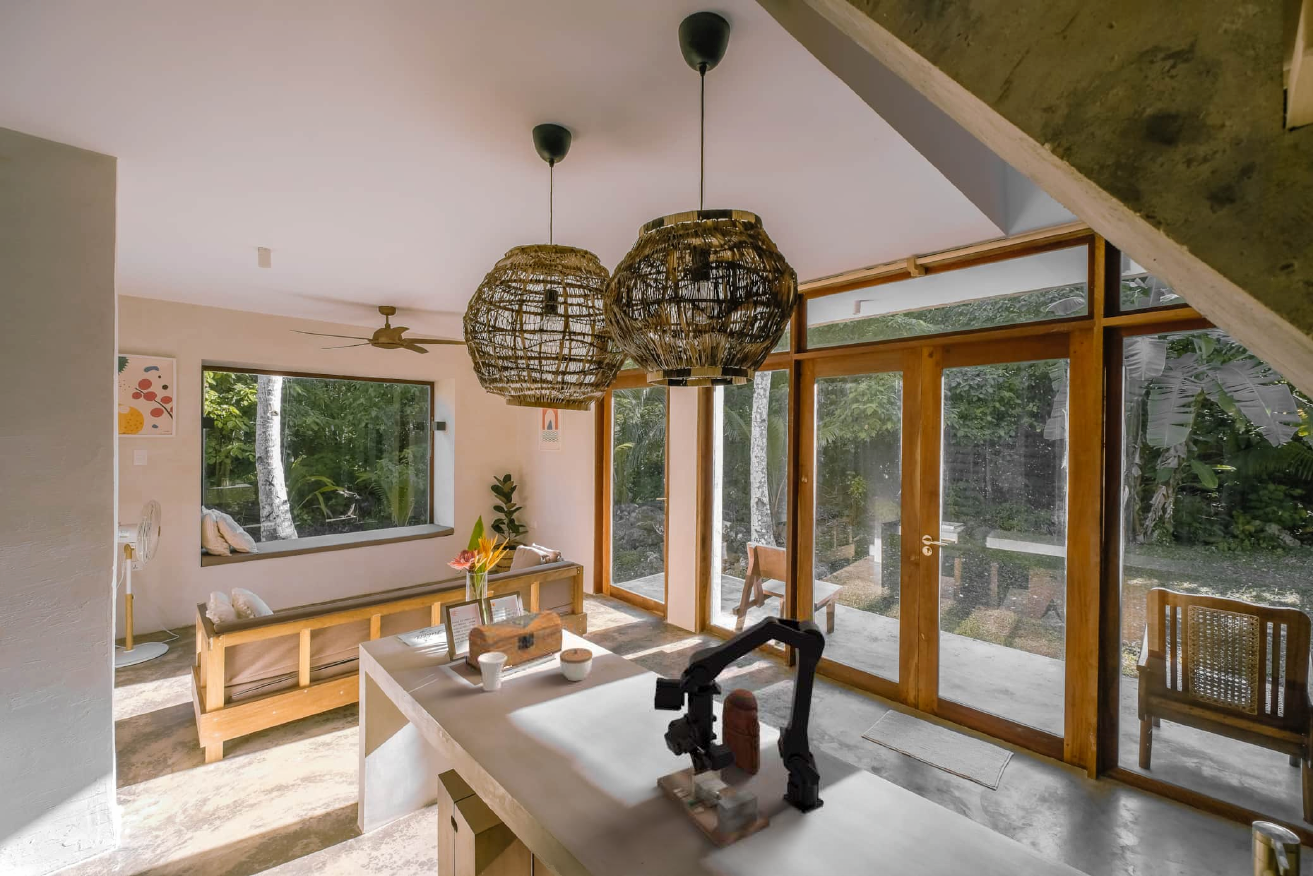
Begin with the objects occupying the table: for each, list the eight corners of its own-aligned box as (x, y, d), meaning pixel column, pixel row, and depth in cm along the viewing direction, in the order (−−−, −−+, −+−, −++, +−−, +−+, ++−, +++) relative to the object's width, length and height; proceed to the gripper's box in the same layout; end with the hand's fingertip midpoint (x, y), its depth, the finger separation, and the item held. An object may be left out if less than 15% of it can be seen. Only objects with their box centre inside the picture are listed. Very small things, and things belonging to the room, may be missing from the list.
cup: (500, 694, 184) (500, 662, 184) (472, 692, 185) (472, 660, 185) (512, 682, 192) (512, 652, 192) (485, 680, 194) (485, 650, 194)
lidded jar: (553, 676, 197) (553, 648, 197) (580, 667, 204) (580, 640, 204) (571, 687, 189) (571, 658, 189) (598, 677, 197) (598, 649, 196)
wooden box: (490, 676, 198) (490, 634, 198) (467, 661, 210) (467, 622, 209) (565, 652, 218) (565, 615, 218) (540, 640, 230) (540, 605, 230)
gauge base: (703, 768, 144) (703, 742, 144) (769, 826, 124) (769, 795, 124) (657, 785, 138) (657, 757, 138) (719, 848, 117) (719, 816, 117)
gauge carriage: (717, 786, 134) (717, 764, 134) (743, 809, 126) (743, 786, 126) (682, 799, 130) (682, 777, 129) (707, 824, 122) (707, 800, 122)
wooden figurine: (769, 767, 145) (769, 694, 145) (753, 777, 141) (753, 702, 140) (732, 747, 154) (732, 679, 153) (715, 757, 150) (716, 686, 149)
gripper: (648, 702, 138) (648, 769, 138) (693, 739, 122) (693, 814, 122) (688, 691, 144) (688, 755, 144) (737, 725, 127) (736, 797, 128)
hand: (699, 779), depth 134 cm, fingers closed
